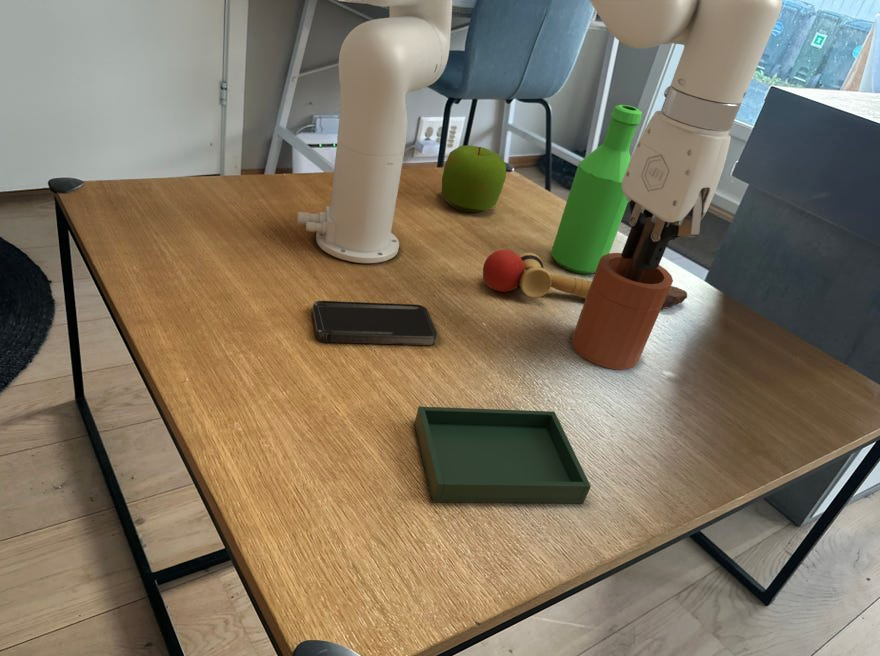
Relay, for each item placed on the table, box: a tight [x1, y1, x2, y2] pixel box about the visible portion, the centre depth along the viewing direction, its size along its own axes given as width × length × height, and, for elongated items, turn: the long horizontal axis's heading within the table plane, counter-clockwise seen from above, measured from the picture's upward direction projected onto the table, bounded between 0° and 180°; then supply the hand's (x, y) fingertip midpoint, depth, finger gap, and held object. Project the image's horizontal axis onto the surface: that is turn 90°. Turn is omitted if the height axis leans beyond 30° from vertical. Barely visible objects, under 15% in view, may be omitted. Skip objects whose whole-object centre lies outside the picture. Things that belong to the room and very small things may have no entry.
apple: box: [441, 144, 507, 213], centre depth 125 cm, size 11×11×11 cm
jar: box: [571, 252, 674, 370], centre depth 90 cm, size 9×9×12 cm
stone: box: [661, 285, 688, 309], centre depth 107 cm, size 7×7×3 cm
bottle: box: [551, 104, 643, 275], centre depth 108 cm, size 9×9×25 cm
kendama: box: [482, 249, 592, 300], centre depth 102 cm, size 8×6×18 cm
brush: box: [624, 217, 658, 282], centre depth 87 cm, size 6×6×15 cm
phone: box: [311, 300, 438, 346], centre depth 88 cm, size 8×1×15 cm
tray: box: [414, 406, 592, 504], centre depth 71 cm, size 15×11×2 cm
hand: (639, 261), depth 86 cm, fingers closed on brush
